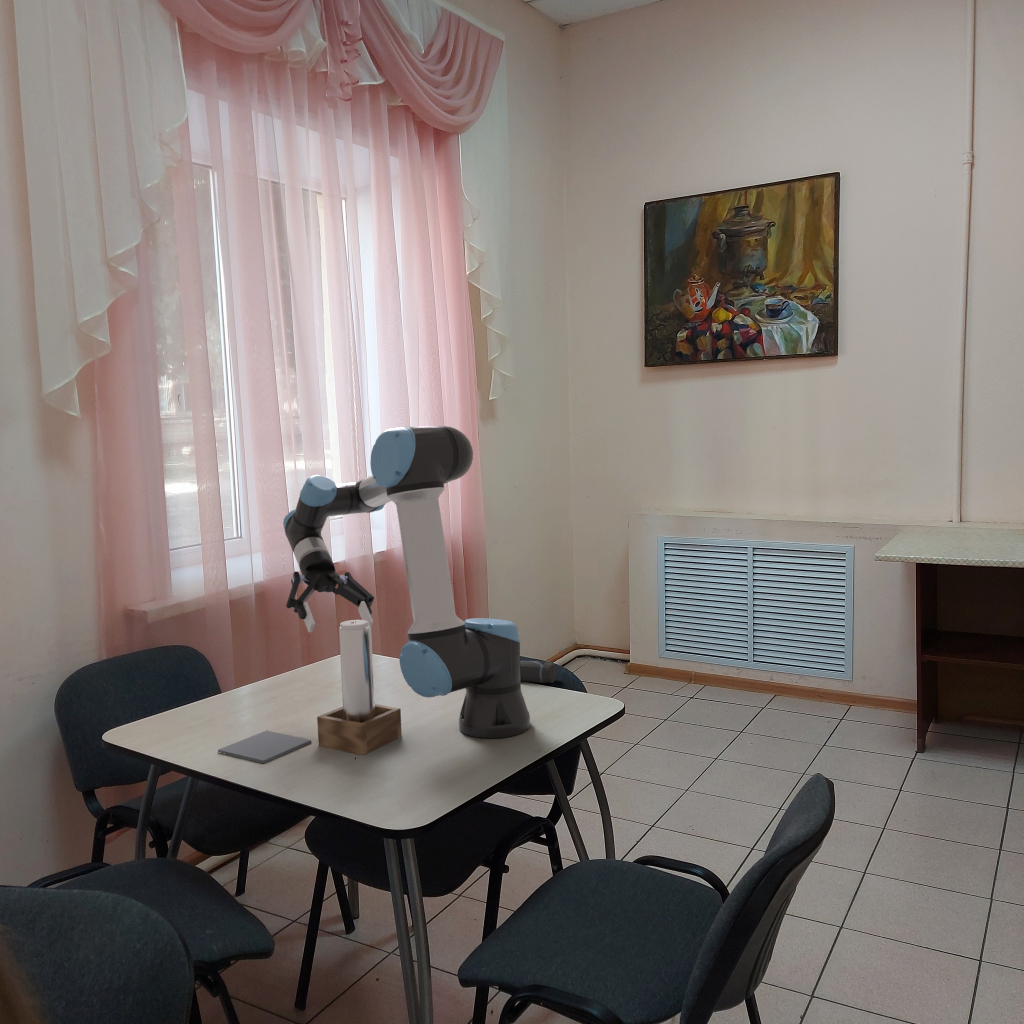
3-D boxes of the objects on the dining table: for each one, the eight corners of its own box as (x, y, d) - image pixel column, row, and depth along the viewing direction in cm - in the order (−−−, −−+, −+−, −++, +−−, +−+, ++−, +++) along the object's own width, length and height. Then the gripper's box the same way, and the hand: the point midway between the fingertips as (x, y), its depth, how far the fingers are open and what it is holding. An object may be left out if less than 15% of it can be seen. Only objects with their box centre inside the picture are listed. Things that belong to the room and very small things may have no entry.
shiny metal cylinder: (370, 747, 185) (364, 625, 183) (339, 745, 187) (333, 625, 184) (380, 736, 192) (375, 618, 189) (351, 735, 193) (345, 618, 190)
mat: (311, 742, 189) (311, 739, 189) (263, 763, 178) (263, 760, 178) (266, 733, 196) (266, 730, 196) (218, 752, 185) (218, 749, 185)
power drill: (532, 698, 216) (457, 691, 224) (562, 677, 232) (491, 671, 241) (531, 676, 215) (456, 669, 224) (561, 657, 232) (490, 651, 240)
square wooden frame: (401, 736, 191) (400, 708, 190) (363, 755, 181) (361, 725, 180) (358, 728, 197) (356, 700, 197) (318, 745, 187) (317, 716, 187)
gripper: (358, 573, 222) (387, 637, 208) (257, 573, 208) (281, 641, 194) (368, 550, 218) (398, 613, 204) (266, 548, 204) (291, 616, 190)
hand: (341, 627), depth 199 cm, fingers open, 13 cm apart
